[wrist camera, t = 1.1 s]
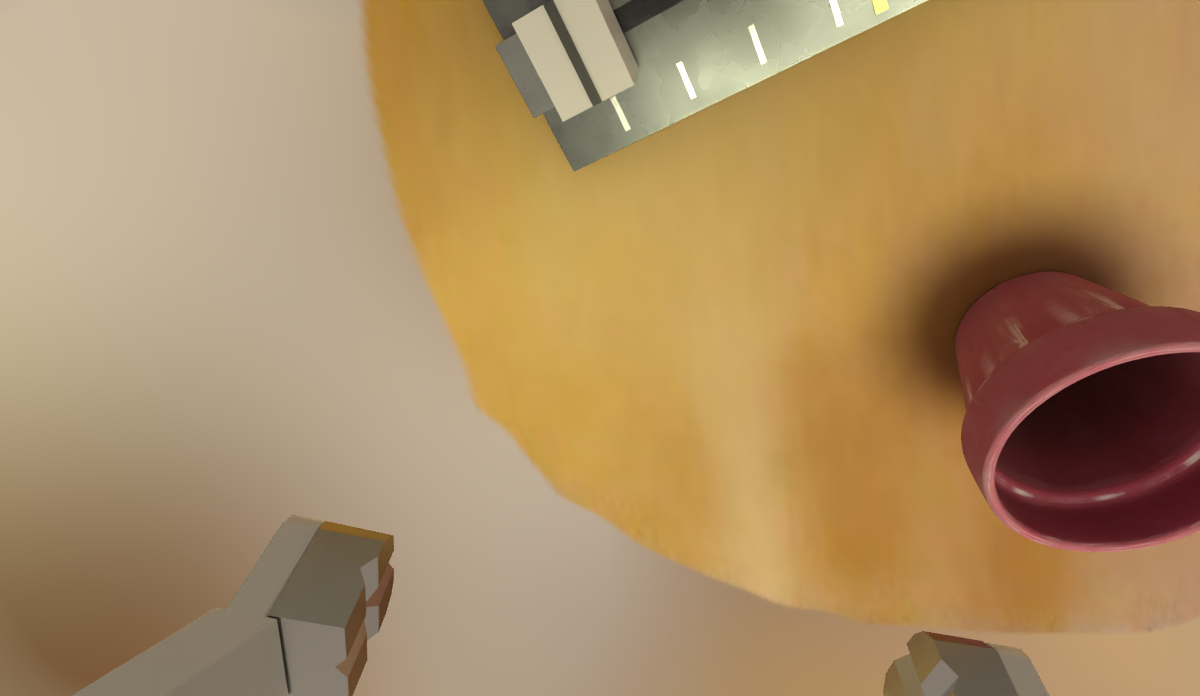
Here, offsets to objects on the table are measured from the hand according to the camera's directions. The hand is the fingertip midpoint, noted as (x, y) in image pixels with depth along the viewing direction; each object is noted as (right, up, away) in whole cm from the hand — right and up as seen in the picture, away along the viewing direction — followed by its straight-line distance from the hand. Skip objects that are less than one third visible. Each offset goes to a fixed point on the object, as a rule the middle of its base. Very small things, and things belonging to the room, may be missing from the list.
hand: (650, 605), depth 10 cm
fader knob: (-2, +20, +24) cm, 32 cm away
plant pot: (+28, +5, +33) cm, 44 cm away
